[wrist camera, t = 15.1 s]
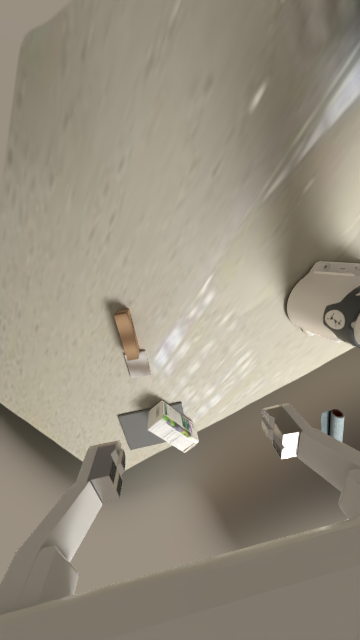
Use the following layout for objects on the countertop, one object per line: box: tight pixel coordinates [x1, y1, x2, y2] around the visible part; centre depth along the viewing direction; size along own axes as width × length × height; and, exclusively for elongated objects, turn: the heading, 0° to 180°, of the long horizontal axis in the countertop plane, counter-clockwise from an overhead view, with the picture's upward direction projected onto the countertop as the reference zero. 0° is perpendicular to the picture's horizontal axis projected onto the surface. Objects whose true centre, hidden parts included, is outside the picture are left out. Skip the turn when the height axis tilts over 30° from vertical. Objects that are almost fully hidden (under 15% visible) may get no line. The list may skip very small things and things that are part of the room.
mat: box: [118, 402, 184, 450], centre depth 51 cm, size 18×14×1 cm
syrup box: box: [148, 400, 199, 452], centre depth 47 cm, size 6×6×14 cm
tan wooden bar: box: [114, 309, 151, 379], centre depth 40 cm, size 18×5×4 cm, turn 8°
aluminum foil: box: [321, 409, 344, 442], centre depth 61 cm, size 23×7×3 cm, turn 17°
